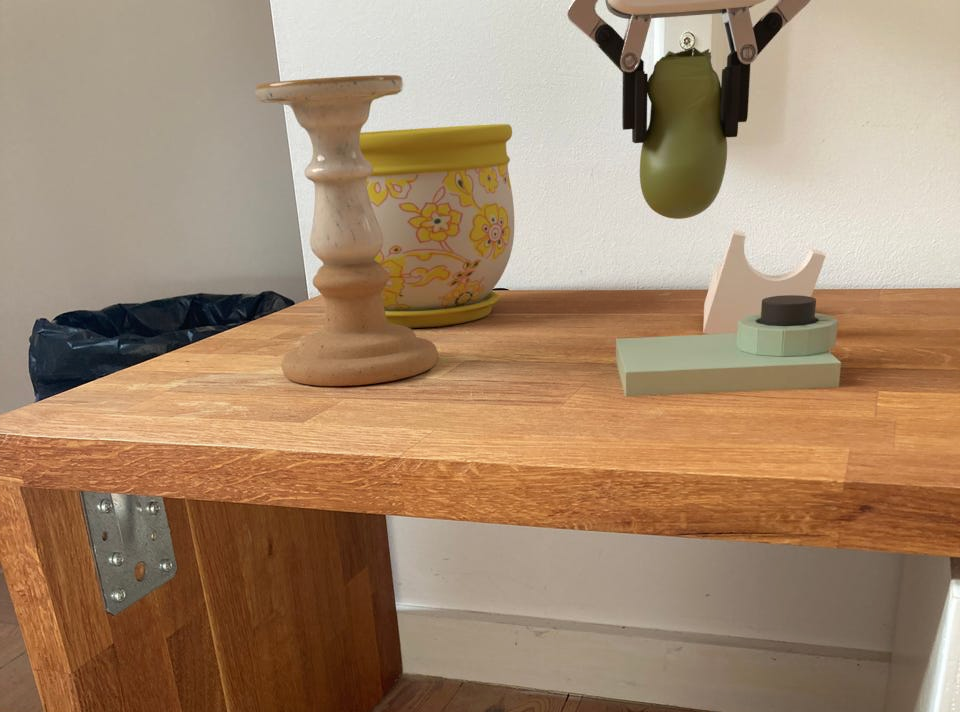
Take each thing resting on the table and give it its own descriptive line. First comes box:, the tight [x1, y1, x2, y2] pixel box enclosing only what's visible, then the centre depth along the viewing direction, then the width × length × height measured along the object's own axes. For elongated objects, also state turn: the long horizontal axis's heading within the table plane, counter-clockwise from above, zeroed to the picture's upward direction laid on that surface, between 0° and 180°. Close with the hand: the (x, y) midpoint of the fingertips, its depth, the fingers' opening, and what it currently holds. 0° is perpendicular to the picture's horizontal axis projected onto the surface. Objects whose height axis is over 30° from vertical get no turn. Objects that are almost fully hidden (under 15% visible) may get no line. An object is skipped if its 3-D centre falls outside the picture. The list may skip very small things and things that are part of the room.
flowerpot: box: [359, 123, 515, 329], centre depth 97 cm, size 18×18×16 cm
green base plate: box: [615, 312, 842, 397], centre depth 72 cm, size 15×11×4 cm
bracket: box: [702, 229, 826, 335], centre depth 85 cm, size 13×7×8 cm, turn 169°
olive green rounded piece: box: [639, 46, 728, 220], centre depth 66 cm, size 6×5×10 cm
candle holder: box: [254, 74, 439, 387], centre depth 77 cm, size 12×12×20 cm
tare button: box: [760, 295, 817, 326], centre depth 71 cm, size 4×4×2 cm
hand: (683, 136), depth 66 cm, fingers closed on olive green rounded piece, 5 cm apart
